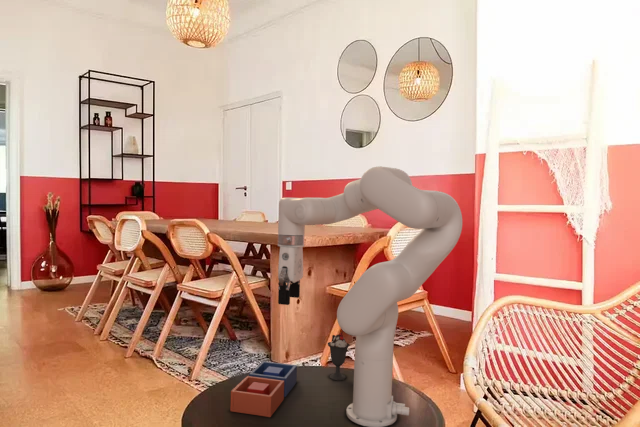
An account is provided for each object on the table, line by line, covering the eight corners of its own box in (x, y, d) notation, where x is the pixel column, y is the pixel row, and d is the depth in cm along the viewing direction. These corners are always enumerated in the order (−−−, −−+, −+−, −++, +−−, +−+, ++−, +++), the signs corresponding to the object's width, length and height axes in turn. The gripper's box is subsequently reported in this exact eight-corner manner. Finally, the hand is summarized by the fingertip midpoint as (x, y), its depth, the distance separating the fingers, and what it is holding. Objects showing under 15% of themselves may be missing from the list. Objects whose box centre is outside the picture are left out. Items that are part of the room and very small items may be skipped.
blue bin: (296, 382, 137) (297, 365, 136) (285, 397, 126) (286, 378, 126) (262, 378, 139) (262, 361, 139) (248, 392, 129) (249, 373, 129)
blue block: (283, 383, 134) (283, 368, 134) (278, 389, 130) (278, 373, 130) (268, 381, 135) (268, 366, 135) (263, 387, 131) (263, 371, 131)
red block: (268, 400, 123) (269, 383, 122) (263, 407, 118) (263, 390, 118) (253, 398, 124) (253, 381, 123) (246, 405, 119) (247, 388, 119)
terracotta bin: (283, 399, 125) (284, 380, 125) (270, 417, 115) (271, 396, 114) (246, 394, 127) (247, 375, 127) (230, 411, 117) (230, 391, 117)
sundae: (347, 382, 138) (348, 332, 137) (324, 380, 139) (326, 329, 138) (350, 374, 144) (351, 326, 144) (328, 372, 145) (330, 324, 145)
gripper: (295, 244, 124) (293, 308, 125) (311, 239, 141) (309, 295, 142) (268, 242, 126) (266, 306, 126) (287, 237, 143) (285, 293, 143)
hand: (289, 300), depth 134 cm, fingers open, 9 cm apart
